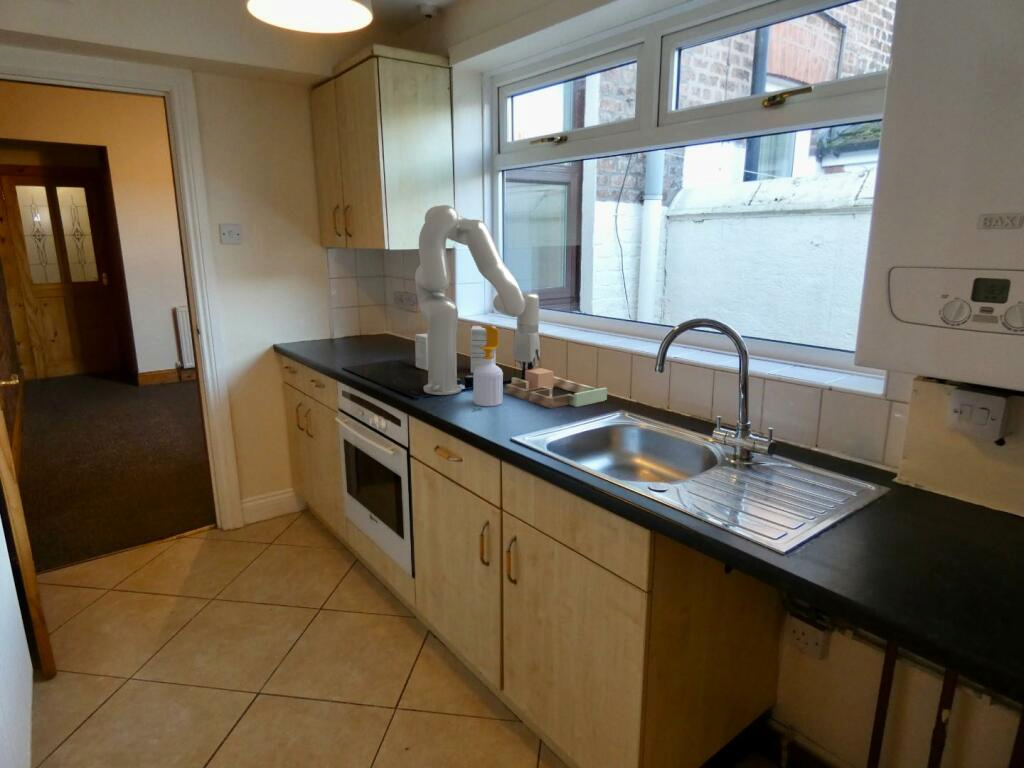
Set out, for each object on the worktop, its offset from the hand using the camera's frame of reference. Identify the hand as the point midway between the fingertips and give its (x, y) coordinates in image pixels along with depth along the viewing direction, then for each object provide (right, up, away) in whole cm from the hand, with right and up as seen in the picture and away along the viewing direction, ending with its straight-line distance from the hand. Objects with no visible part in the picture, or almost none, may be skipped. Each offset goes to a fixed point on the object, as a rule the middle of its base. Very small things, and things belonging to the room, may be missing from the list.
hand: (526, 379), depth 222 cm
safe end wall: (+20, -7, -24) cm, 32 cm away
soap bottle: (-13, -8, -25) cm, 29 cm away
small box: (-38, +5, +24) cm, 45 cm away
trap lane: (+7, -5, -14) cm, 16 cm away
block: (+4, -3, -5) cm, 7 cm away
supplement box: (-16, +3, +20) cm, 26 cm away
